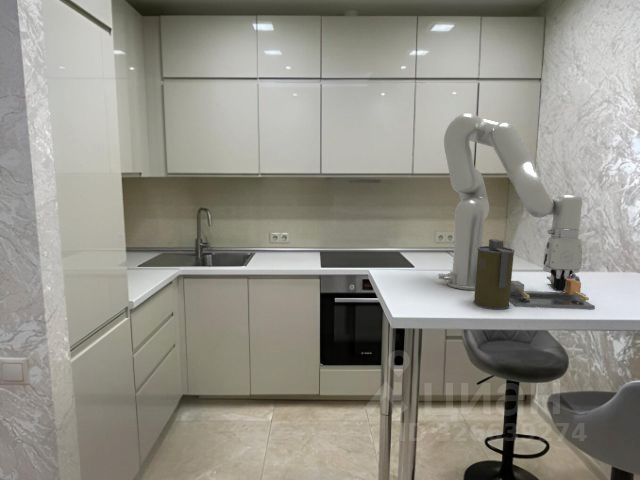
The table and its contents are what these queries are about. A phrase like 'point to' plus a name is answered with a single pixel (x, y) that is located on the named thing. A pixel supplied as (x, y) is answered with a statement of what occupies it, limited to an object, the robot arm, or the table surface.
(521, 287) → the fixed leg
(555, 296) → the rail
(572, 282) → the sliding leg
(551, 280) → the brake caliper
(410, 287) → the table surface
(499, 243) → the canister
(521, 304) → the strip
